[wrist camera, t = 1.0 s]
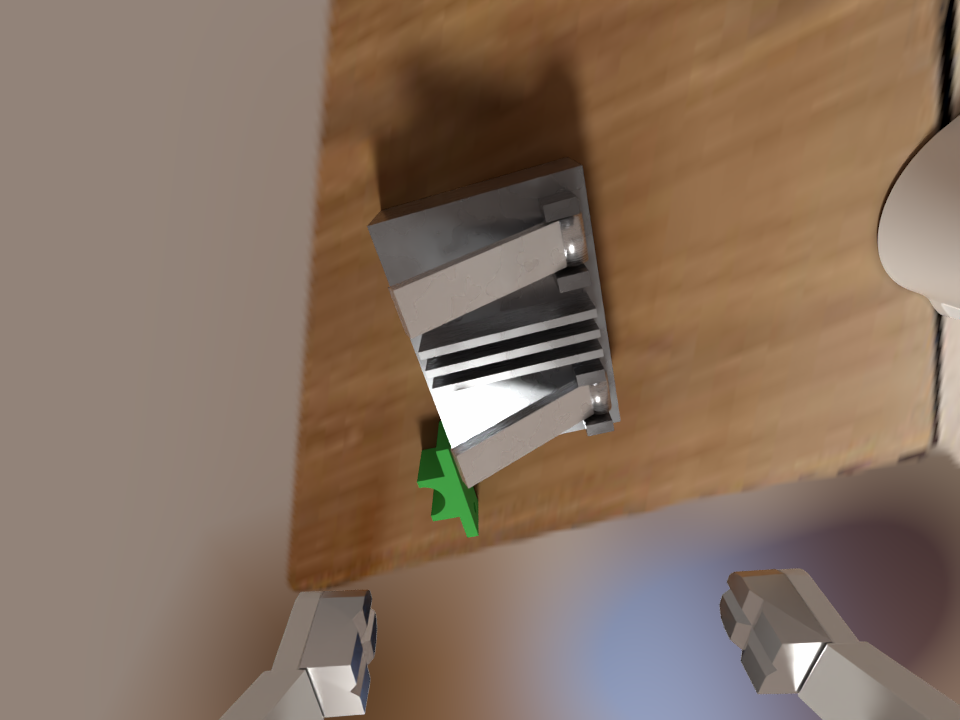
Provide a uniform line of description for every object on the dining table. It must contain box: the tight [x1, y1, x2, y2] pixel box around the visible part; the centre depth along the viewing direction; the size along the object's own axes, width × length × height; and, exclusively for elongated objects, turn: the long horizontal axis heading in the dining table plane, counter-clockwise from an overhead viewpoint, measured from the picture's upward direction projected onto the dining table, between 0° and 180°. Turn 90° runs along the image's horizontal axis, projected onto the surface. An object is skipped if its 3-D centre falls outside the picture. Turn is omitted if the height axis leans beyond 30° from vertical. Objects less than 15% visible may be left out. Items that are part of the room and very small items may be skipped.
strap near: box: [388, 211, 589, 339], centre depth 28 cm, size 13×3×2 cm, turn 106°
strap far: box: [450, 371, 612, 488], centre depth 33 cm, size 13×3×2 cm, turn 106°
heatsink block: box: [367, 157, 620, 448], centre depth 35 cm, size 14×20×8 cm
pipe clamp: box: [417, 421, 478, 537], centre depth 44 cm, size 11×4×5 cm, turn 13°
